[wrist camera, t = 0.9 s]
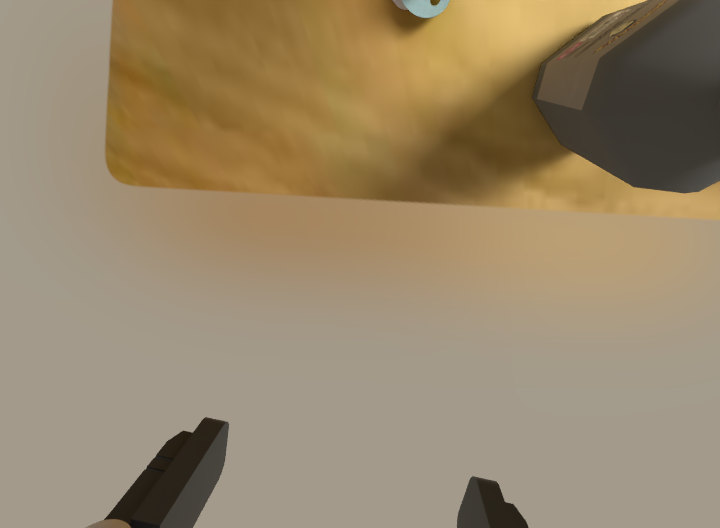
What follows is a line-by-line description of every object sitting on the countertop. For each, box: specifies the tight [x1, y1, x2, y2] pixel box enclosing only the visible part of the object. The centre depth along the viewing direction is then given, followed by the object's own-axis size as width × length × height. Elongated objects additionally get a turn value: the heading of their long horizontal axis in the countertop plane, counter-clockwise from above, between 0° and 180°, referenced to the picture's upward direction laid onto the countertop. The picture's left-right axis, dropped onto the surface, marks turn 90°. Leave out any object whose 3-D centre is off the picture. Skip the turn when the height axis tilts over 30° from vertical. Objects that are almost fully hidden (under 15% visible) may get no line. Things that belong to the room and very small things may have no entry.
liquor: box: [532, 0, 720, 193], centre depth 20 cm, size 9×9×30 cm
